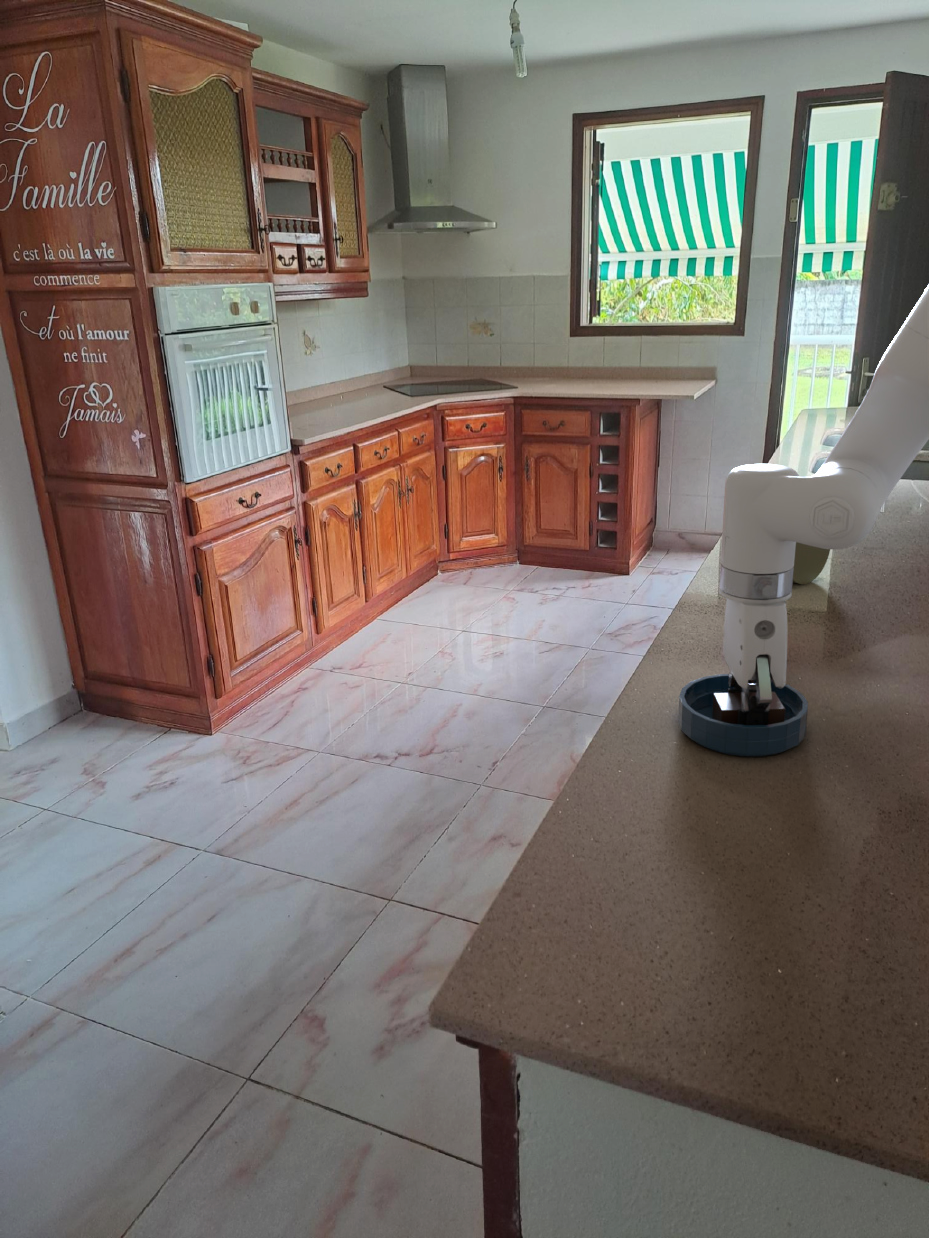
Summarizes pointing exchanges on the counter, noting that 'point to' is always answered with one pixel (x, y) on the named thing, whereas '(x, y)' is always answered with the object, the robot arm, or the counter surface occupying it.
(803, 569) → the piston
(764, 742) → the bowl
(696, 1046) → the counter surface
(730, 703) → the shiny metal block
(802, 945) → the counter surface
